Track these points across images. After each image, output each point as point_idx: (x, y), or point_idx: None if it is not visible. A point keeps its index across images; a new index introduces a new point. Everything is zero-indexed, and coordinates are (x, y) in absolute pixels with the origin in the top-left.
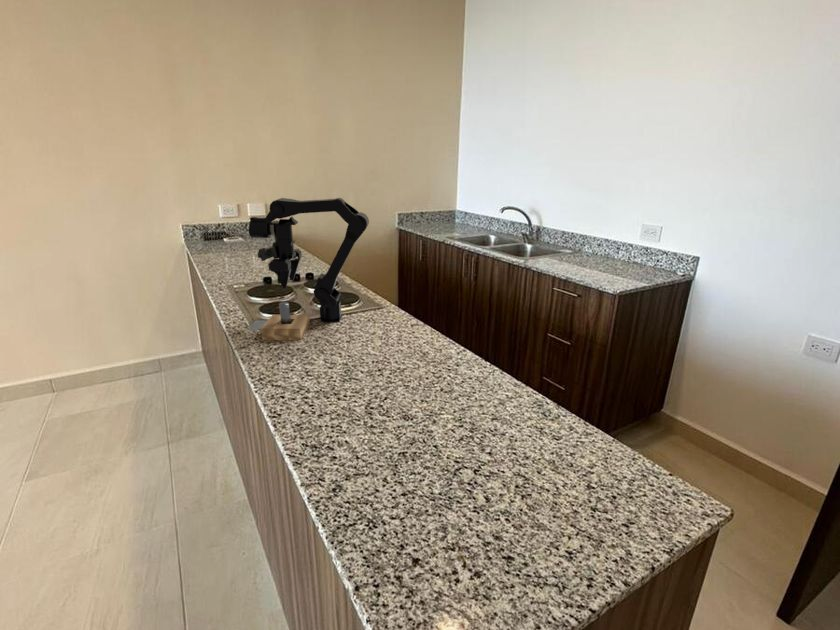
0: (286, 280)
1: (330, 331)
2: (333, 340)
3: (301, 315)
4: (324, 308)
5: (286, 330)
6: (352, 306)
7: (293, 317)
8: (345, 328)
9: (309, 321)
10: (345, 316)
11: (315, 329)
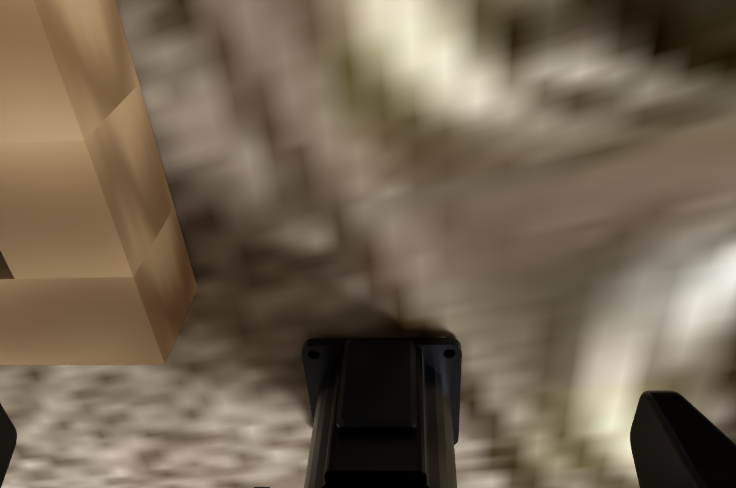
0: None
1: (154, 410)
2: (27, 440)
3: (126, 312)
4: (316, 457)
5: None
6: None
7: (46, 257)
8: (229, 468)
9: (182, 317)
10: None
11: None
